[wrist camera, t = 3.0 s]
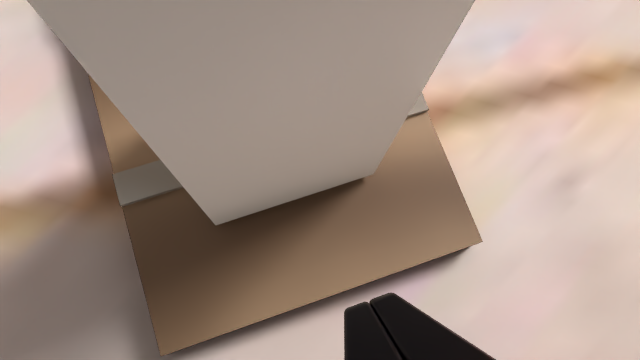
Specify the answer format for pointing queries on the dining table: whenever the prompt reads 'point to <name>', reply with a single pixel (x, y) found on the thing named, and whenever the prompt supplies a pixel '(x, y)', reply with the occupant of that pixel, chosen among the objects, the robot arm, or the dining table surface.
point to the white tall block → (260, 85)
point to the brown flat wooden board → (280, 233)
